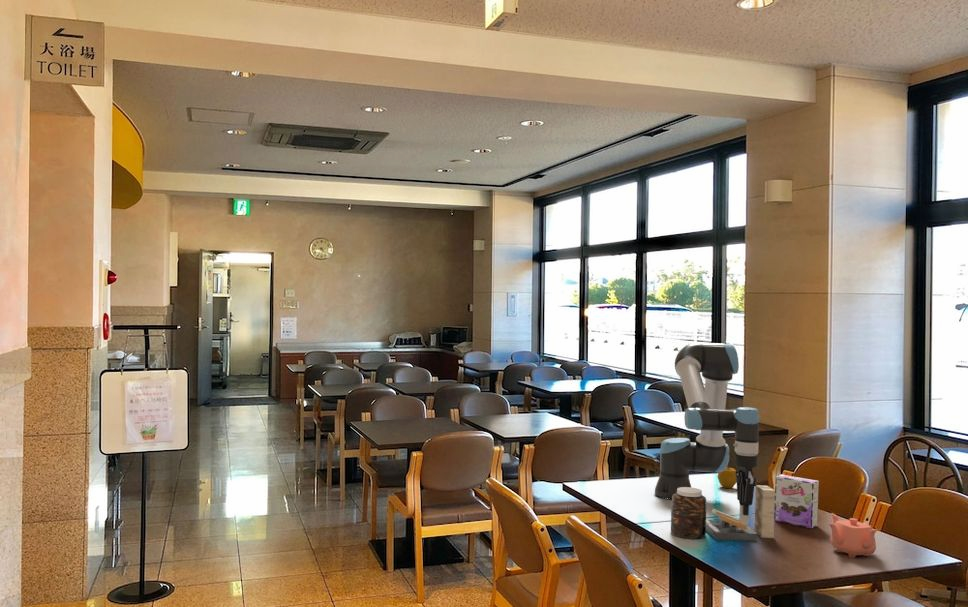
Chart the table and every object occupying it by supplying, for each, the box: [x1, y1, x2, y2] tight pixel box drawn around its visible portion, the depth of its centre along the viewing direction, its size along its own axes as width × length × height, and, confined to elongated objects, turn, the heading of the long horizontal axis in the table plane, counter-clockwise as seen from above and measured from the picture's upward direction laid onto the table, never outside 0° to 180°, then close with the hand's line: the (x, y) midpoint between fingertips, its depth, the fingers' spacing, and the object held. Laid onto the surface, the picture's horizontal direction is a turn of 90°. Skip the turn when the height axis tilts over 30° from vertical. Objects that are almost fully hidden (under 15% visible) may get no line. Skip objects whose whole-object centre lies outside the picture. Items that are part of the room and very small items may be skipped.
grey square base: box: [706, 519, 758, 542], centre depth 262 cm, size 15×14×4 cm
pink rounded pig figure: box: [827, 512, 879, 558], centre depth 245 cm, size 14×14×11 cm
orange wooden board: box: [717, 514, 748, 530], centre depth 259 cm, size 3×9×1 cm, turn 91°
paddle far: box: [711, 508, 739, 522], centre depth 266 cm, size 3×9×1 cm, turn 91°
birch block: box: [753, 484, 775, 539], centre depth 262 cm, size 7×4×16 cm, turn 0°
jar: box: [670, 486, 707, 540], centre depth 260 cm, size 12×12×15 cm
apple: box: [717, 466, 737, 489], centre depth 332 cm, size 8×8×9 cm
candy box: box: [774, 474, 820, 529], centre depth 279 cm, size 14×6×16 cm, turn 47°
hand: (743, 523), depth 259 cm, fingers closed
